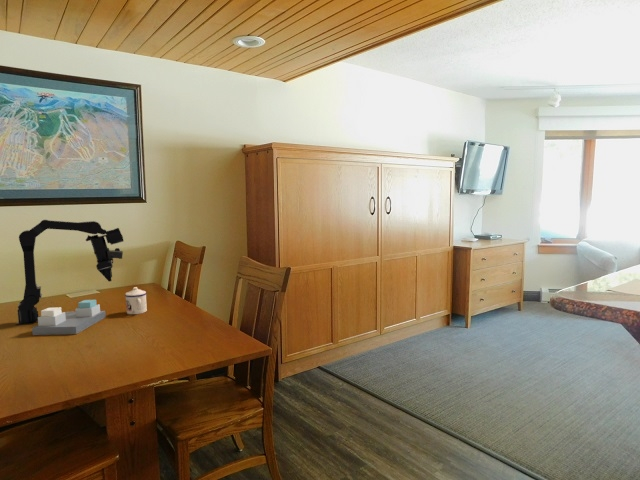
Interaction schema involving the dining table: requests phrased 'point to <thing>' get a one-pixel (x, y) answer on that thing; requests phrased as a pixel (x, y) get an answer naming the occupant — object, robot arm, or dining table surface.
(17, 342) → the dining table surface
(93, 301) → the teal key
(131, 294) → the teacup with lid
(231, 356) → the dining table surface
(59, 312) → the cream key
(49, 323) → the grey rectangular board
